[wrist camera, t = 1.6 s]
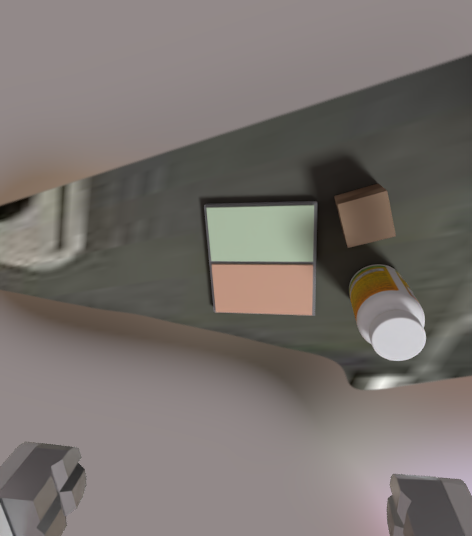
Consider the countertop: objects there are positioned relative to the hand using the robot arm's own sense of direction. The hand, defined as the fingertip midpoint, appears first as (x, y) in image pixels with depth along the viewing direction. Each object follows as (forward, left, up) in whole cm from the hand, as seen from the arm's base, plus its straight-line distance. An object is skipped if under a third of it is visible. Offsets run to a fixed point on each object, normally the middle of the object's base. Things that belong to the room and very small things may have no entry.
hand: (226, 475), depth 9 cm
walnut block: (-7, 0, -29) cm, 30 cm away
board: (+2, +5, -29) cm, 29 cm away
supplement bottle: (-9, +8, -29) cm, 31 cm away
